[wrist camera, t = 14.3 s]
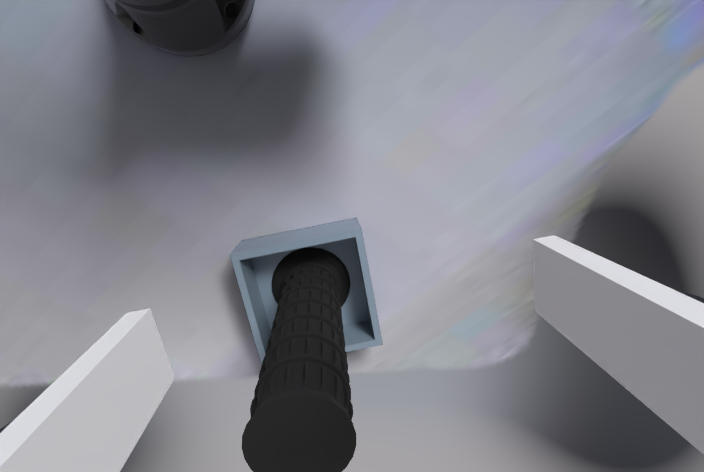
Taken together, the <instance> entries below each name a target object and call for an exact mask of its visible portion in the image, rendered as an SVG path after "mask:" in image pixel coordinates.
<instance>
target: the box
mask: <svg viewBox="0 0 704 472" xmlns="http://www.w3.org/2000/svg"><path fill="white" fill-rule="evenodd" d="M309 247H315V248H322V249H324V250H327V251H329V252H332V253H333V254H334V255H336V256H337V257H338V258H340V260H341V261H342V262H343V263H344V265H345V266H346V268H347V270H348V273H349V277H350V283H351V284H350V293H349V295H348V298H347V300H346V302H345V303H344V305H343V306H342V307H341V311H342V321H343V322H342V323H343V332H344V340H345V351H346V352H349V351H354V350H359V349H364V348H368V347H373V346H378V345H383V343H382V337H381V332H380V326H379V321H378V316H377V310H376V305H375V299H374V294H373V288H372V283H371V277H370V272H369V266H368V261H367V256H366V250H365V245H364V239H363V234H362V229H361V226H360V224H359V222H358V220H357V218H352V219H347V220H342V221H337V222H332V223H327V224H322V225H317V226H312V227H307V228H302V229H297V230H292V231H287V232H282V233H277V234H272V235H267V236H262V237H257V238H252V239H247V240H242V241H241V242H240V243H239V244H238V246H237V247H236V248H235V249H234V250H233V252H232V253H231V254H230V257H231V260H232V264H233V267H234V271H235V274H236V278H237V281H238V285H239V288H240V292H241V295H242V299H243V302H244V306H245V309H246V313H247V316H248V320H249V323H250V327H251V330H252V334H253V337H254V341H255V344H256V348H257V351H258V355H259V358H260V361H261V365H262V361H263V359H264V357H265V355H266V354H265V351H266V348H267V346H268V340H269V337H270V334H271V329H272V325H273V321H274V319H275V314H276V310H277V307H278V304H277V302H276V301H275V298H274V295H273V293H272V277H273V272H274V270H275V269H276V267H277V265H278V263H279V262H280V261H281V260H282V259H283V258H284V257H285V256H286V255H288V254H289V253H291V252H292V251H295V250H298V249H301V248H309Z"/></svg>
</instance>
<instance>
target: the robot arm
mask: <svg viewBox="0 0 704 472" xmlns="http://www.w3.org/2000/svg"><path fill="white" fill-rule="evenodd" d="M105 1H106V2H107V4H108V6H109V7H110V9H111V10H112V11H113V13H114V14H115V15H116V17H117V18H118V19H119V20H120V21H121V22H122V23H123V24H124V25H125V26H126V27H127V28H128V29H129V30H130V31H131V32H133V33H134V34H135V35H136V36H138V37H139V38H141V39H142V40H144V41H146V42H147V43H149V44H151V45H153V46H154V47H156V48H158V49H160V50H163V51H165V52H168V53H172V54H175V55H181V56H200V55H205V54H209V53H212V52H215V51H217V50H219V49H221V48H223V47H225V46H226V45H227V44H229V43H230V42H231V41H232V40H234V39H235V38H236V37H237V36H238V34H239V33H240V32H241V31H242V29H243V28H244V26H245V24H246V23H247V21H248V19H249V17H250V14H251V11H252V8H253V4H254V0H105ZM533 263H534V311H535V312H537V313H538V314H539V315H540V316H541V317H543V318H544V319H545V320H546V321H547V322H548V323H550V324H551V325H552V326H553V327H554V328H556V329H557V330H558V331H559V332H560V333H561V334H563V335H564V336H565V337H566V338H567V339H569V340H570V341H571V342H572V343H573V344H574V345H576V346H577V347H578V348H579V349H580V350H581V351H583V352H584V353H585V354H586V355H587V356H588V357H590V358H591V359H592V360H593V361H594V362H596V363H597V364H598V365H599V366H600V367H601V368H603V369H604V370H605V371H606V372H607V373H608V374H610V375H611V376H612V377H613V378H615V379H616V380H617V381H618V382H619V383H620V384H622V385H623V386H624V387H625V388H626V389H627V390H629V391H630V392H631V393H632V394H633V395H634V396H636V397H637V398H638V399H639V400H640V401H641V402H643V403H644V404H645V405H646V406H647V407H649V408H650V409H651V410H652V411H653V412H654V413H656V414H657V415H658V416H659V417H660V418H661V419H663V420H664V421H665V422H666V423H668V424H669V425H670V426H671V427H672V428H673V429H674V430H676V431H677V432H678V433H679V434H681V436H683V437H684V438H685V439H686V440H687V441H689V442H690V443H691V444H692V445H693V446H694V447H696V448H697V449H698V450H699V451H700V452H702V453H703V454H704V299H703V298H701V297H699V296H696V295H692V294H688V293H684V292H681V291H677V290H673V289H671V288H669V287H667V286H664V285H662V284H660V283H658V282H656V281H653V280H651V279H649V278H647V277H644V276H642V275H640V274H638V273H636V272H634V271H631V270H629V269H627V268H624V267H623V266H621V265H618V264H616V263H614V262H612V261H609V260H607V259H605V258H603V257H601V256H598V255H596V254H594V253H592V252H590V251H587V250H585V249H583V248H581V247H579V246H577V245H574V244H572V243H570V242H568V241H566V240H563V239H561V238H559V237H557V236H549V237H544V238H538V239H533ZM174 378H175V377H174V374H173V371H172V368H171V365H170V363H169V360H168V357H167V354H166V351H165V349H164V346H163V343H162V340H161V337H160V335H159V332H158V329H157V326H156V323H155V321H154V318H153V315H152V312H151V309H145V310H139V311H134V312H128V313H126V314H125V315H124V316H123V317H122V318H121V319H120V320H119V321H118V322H117V323H116V324H115V325H114V326H112V327H111V328H110V329H109V330H108V331H107V332H106V333H105V334H104V335H103V336H102V337H101V338H100V339H99V340H98V341H97V342H96V343H95V344H94V345H92V346H91V347H90V348H89V349H88V350H87V351H86V352H85V353H84V354H83V355H82V356H81V357H80V358H79V359H78V360H77V361H76V362H75V363H74V364H72V365H71V366H70V367H69V368H68V369H67V370H66V371H65V372H64V373H63V374H62V375H61V376H60V377H59V378H58V379H57V380H56V381H55V382H54V383H53V384H51V385H50V386H49V387H48V388H47V389H46V390H45V391H44V392H43V393H42V394H41V395H40V396H39V397H38V398H37V399H36V400H35V401H34V402H33V403H31V404H30V405H29V406H28V407H27V408H26V409H25V410H24V411H23V412H22V413H21V414H20V415H19V416H18V417H17V418H16V419H14V420H13V421H12V422H10V423H9V424H7V425H6V426H4V427H3V428H1V429H0V472H120V471H121V469H122V467H123V466H124V464H125V462H126V460H127V459H128V457H129V455H130V454H131V452H132V450H133V448H134V447H135V445H136V443H137V442H138V440H139V438H140V437H141V435H142V433H143V431H144V430H145V428H146V426H147V425H148V423H149V421H150V419H151V418H152V416H153V414H154V413H155V411H156V409H157V407H158V405H159V404H160V402H161V401H162V399H163V397H164V395H165V394H166V392H167V390H168V389H169V387H170V385H171V383H172V382H173V380H174Z"/></svg>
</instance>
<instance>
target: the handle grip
mask: <svg viewBox="0 0 704 472" xmlns="http://www.w3.org/2000/svg"><path fill="white" fill-rule="evenodd" d="M350 284H351V283H350V277H349V273H348V270H347V268H346V266H345V265H344V263H343V262H342V261H341V260H340V258H338V257H337V256H336V255H334V254H333V253H332V252H329V251H327V250H324V249H322V248H315V247H309V248H301V249H298V250H295V251H292V252H291V253H289V254H288V255H286V256H285V257H284V258H283V259H282V260H281V261H280V262H279V263H278V265H277V267H276V269H275V270H274V272H273V277H272V293H273V295H274V298H275V301H276V302H277V304H278V307H277V310H276V314H275V319H274V321H273V325H272V329H271V334H270V337H269V340H268V346H267V348H266V351H265V354H266V355H265V357H264V359H263V361H262V368H261V371H260V374H259V380H258V383H257V386H256V389H255V397H254V399H253V401H252V404H251V408H250V409H251V410H250V411H251V419H250V420H249V422H248V423H247V425H246V428H245V430H244V433H243V436H242V450H243V454H244V458H245V460H246V462H247V463H248V465H249V467H250V468H251V470H252V471H253V472H342V471H343V470H344V469H345V468H346V467H347V465H348V464H349V462H350V460H351V459H352V457H353V454H354V451H355V447H356V432H355V429H354V426H353V423H352V421H351V420H352V416H353V407H352V404H351V402H350V400H351V388H350V385H349V382H350V381H349V375H348V364H347V359H346V358H347V355H346V351H345V340H344V332H343V323H342V322H343V321H342V311H341V307H342V306H343V305H344V303H345V302H346V300H347V298H348V295H349V293H350Z"/></svg>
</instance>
